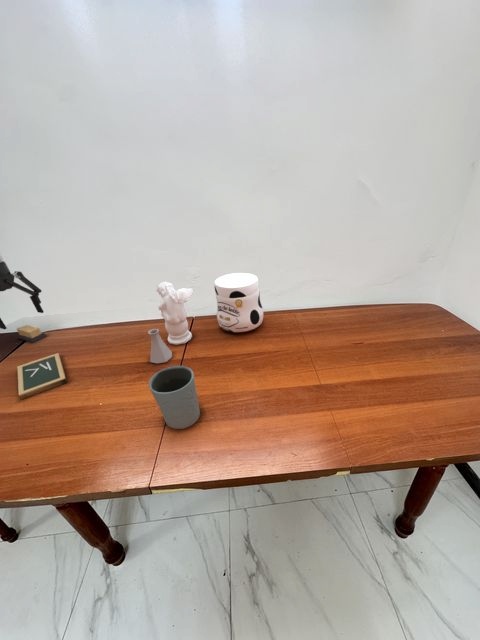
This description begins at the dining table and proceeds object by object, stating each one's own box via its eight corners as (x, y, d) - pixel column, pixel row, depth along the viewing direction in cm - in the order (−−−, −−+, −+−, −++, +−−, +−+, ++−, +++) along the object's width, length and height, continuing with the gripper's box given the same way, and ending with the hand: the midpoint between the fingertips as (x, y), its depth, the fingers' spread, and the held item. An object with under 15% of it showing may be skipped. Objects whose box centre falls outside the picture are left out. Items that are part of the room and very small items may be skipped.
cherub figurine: (167, 333, 110) (152, 276, 98) (201, 327, 112) (189, 271, 100) (168, 350, 100) (150, 289, 88) (204, 343, 102) (192, 282, 90)
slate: (20, 370, 95) (17, 366, 94) (60, 357, 101) (58, 352, 100) (21, 399, 83) (18, 395, 82) (67, 382, 88) (65, 377, 87)
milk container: (215, 338, 105) (207, 290, 95) (221, 316, 119) (215, 273, 110) (264, 336, 104) (260, 287, 94) (264, 314, 119) (261, 270, 109)
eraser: (19, 338, 114) (13, 329, 112) (32, 332, 118) (27, 323, 116) (33, 342, 111) (28, 333, 108) (46, 336, 114) (41, 327, 112)
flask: (175, 351, 99) (168, 325, 94) (167, 364, 93) (160, 337, 88) (155, 351, 100) (147, 325, 94) (146, 364, 94) (137, 337, 88)
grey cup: (183, 437, 68) (171, 398, 61) (152, 422, 72) (138, 385, 66) (210, 409, 75) (202, 371, 68) (181, 397, 79) (170, 361, 73)
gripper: (-49, 276, 88) (-9, 337, 99) (34, 253, 106) (60, 307, 118) (-61, 274, 91) (-21, 334, 102) (22, 252, 109) (48, 305, 121)
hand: (23, 320), depth 110 cm, fingers open, 13 cm apart
